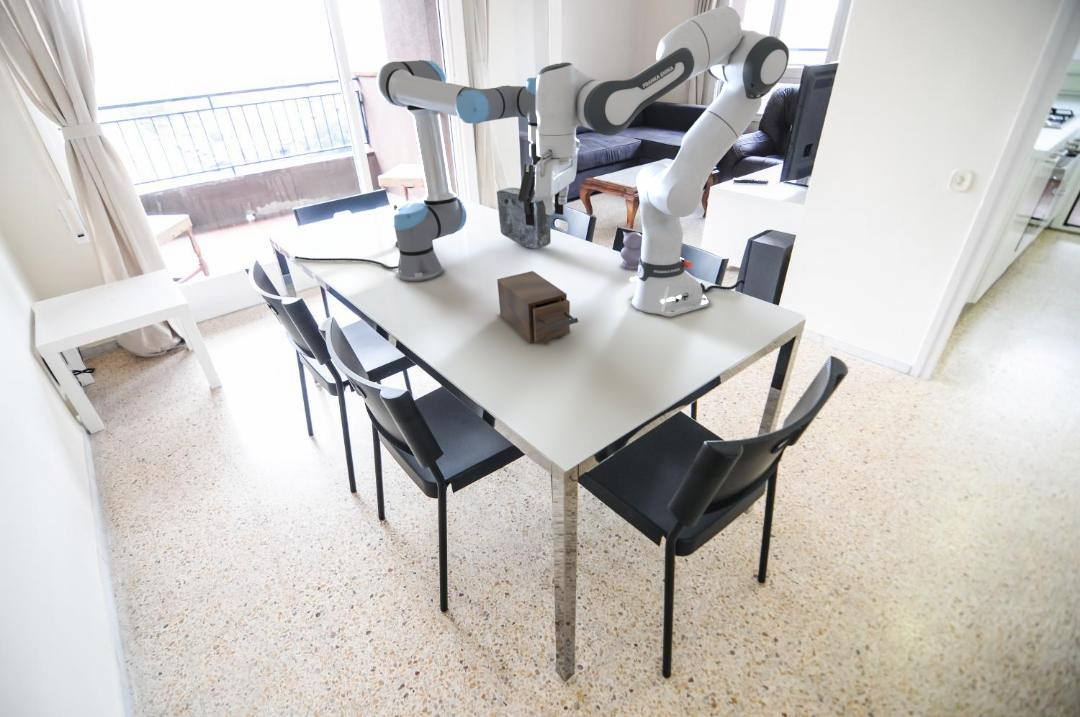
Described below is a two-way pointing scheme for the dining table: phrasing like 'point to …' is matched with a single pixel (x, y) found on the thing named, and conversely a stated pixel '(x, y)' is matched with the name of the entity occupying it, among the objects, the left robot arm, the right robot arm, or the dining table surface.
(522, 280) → the cabinet
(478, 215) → the dining table surface
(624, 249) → the cat figurine
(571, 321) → the drawer
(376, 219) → the dining table surface
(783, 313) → the dining table surface
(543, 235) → the concrete block
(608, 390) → the dining table surface
